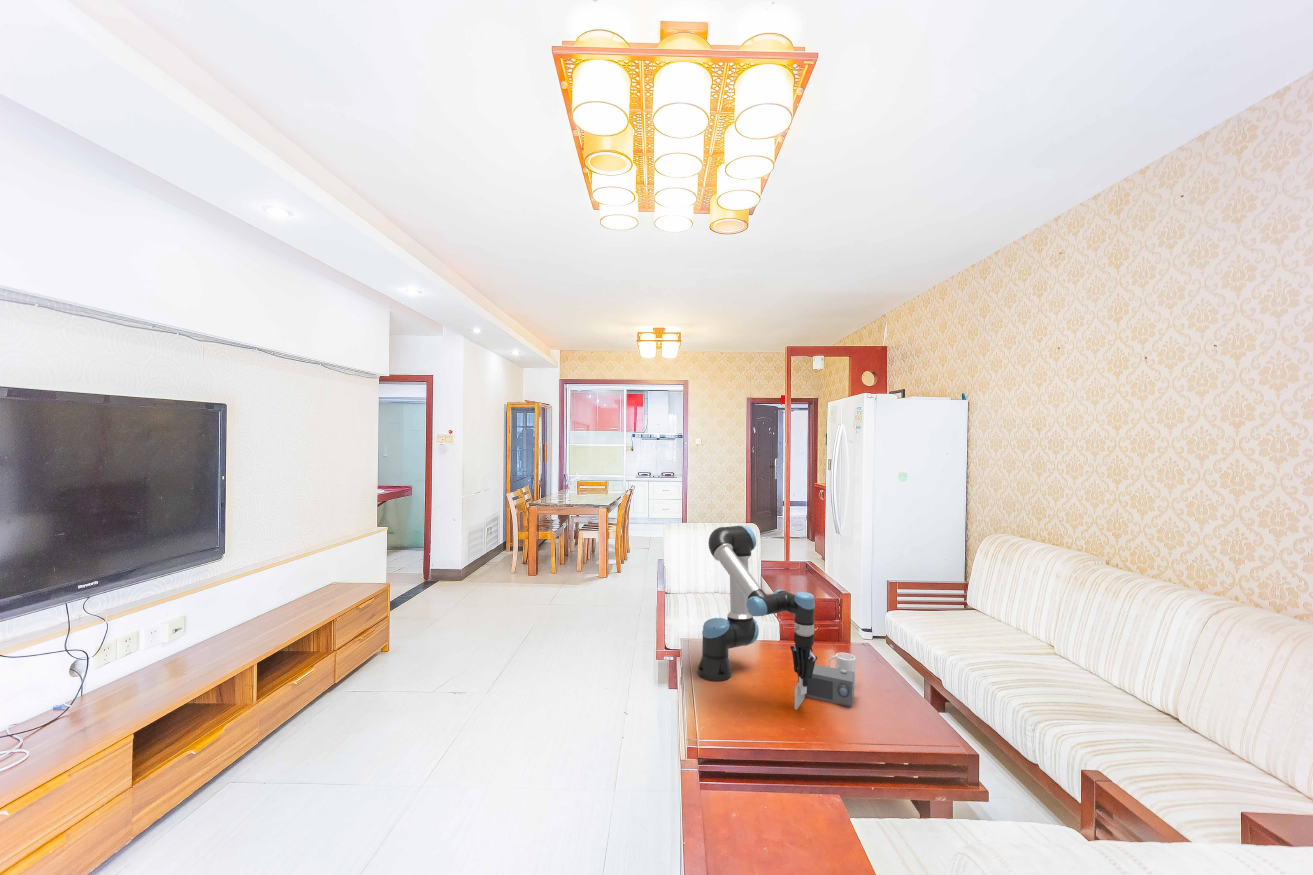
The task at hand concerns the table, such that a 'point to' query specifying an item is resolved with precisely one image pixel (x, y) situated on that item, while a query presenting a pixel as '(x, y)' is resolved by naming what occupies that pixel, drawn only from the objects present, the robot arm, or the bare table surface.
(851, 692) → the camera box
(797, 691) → the door
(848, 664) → the mug
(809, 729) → the table surface
